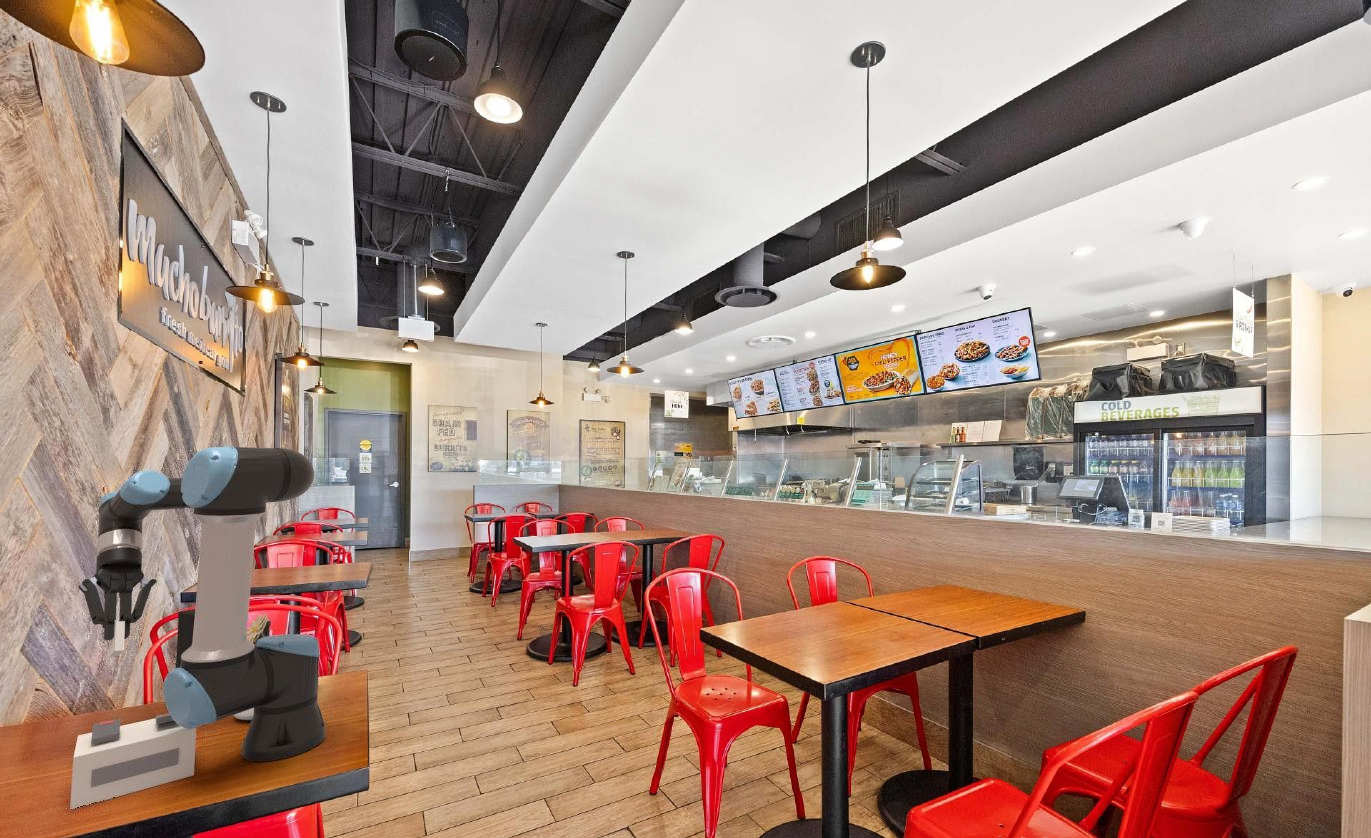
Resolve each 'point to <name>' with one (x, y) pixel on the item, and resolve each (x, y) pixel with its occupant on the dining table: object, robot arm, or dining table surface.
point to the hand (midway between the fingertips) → (116, 653)
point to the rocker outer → (105, 731)
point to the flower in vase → (252, 634)
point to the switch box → (131, 761)
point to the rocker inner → (163, 718)
